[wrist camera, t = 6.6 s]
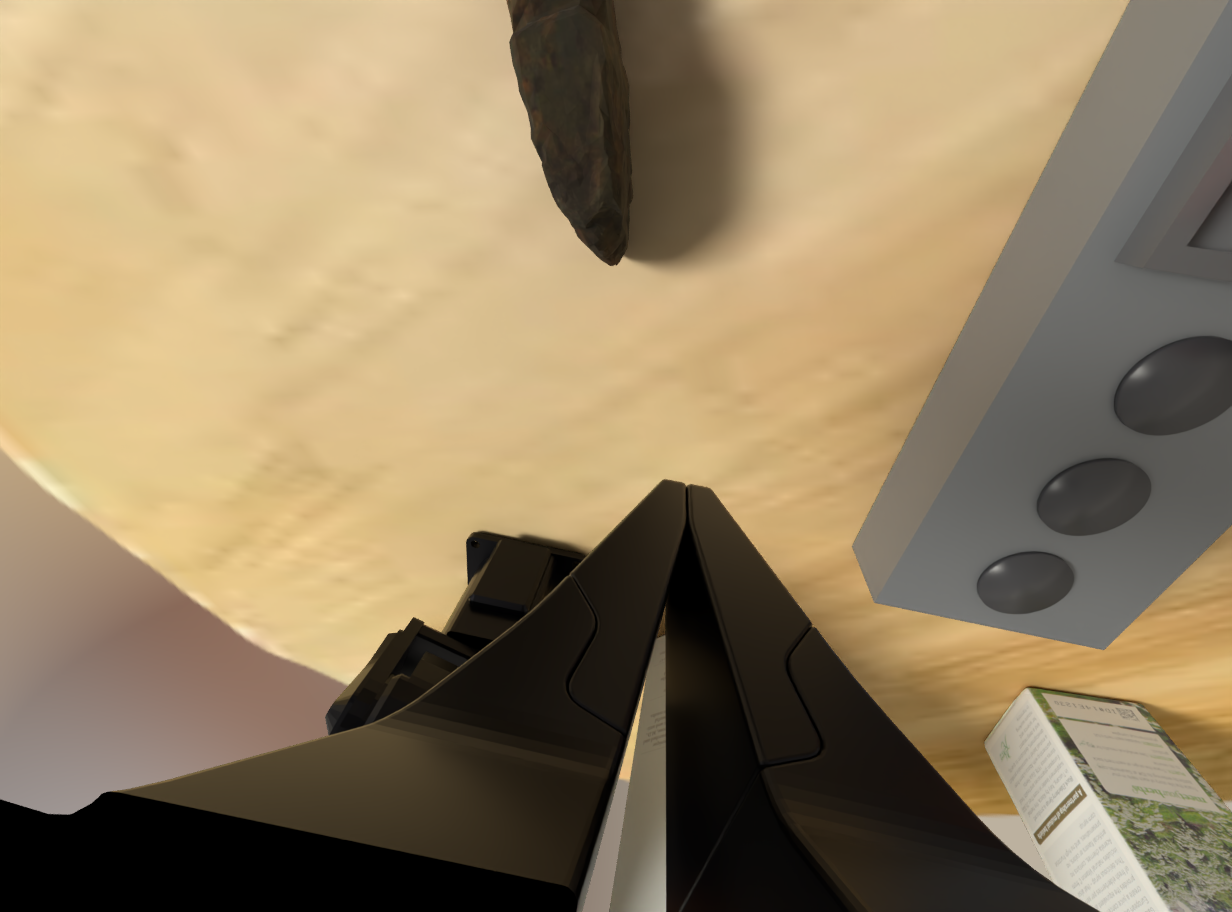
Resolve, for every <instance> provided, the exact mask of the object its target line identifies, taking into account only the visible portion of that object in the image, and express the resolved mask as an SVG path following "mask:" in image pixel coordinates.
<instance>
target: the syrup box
mask: <svg viewBox="0 0 1232 912" xmlns="http://www.w3.org/2000/svg"><path fill="white" fill-rule="evenodd" d="M984 744H985V749H986V751H987V753H988V754H989V757H990V758H991V760H992V762H993V764H994V766H995V768H996V770H997V772H998V774H999V776H1000V778H1001V780H1002V782H1003V783H1004V785H1005V787H1006V789H1007V791H1008V793H1009V795H1010V797H1011V799H1012V801H1013V803H1014V805H1015V807H1016V809H1017V811H1018V813H1019V815H1020V817H1021V819H1022V821H1023V823H1024V825H1025V827H1026V829H1027V831H1028V833H1029V835H1030V837H1031V839H1032V841H1033V843H1034V845H1035V847H1036V849H1037V851H1038V853H1039V855H1040V857H1041V859H1042V861H1043V863H1044V865H1045V867H1046V869H1047V871H1048V873H1049V875H1050V877H1051V879H1052V881H1053V883H1054V884H1056V885H1057V886H1059V887H1060V888H1062V889H1063V890H1065V891H1067V892H1068V893H1070V894H1071V895H1073V896H1075V897H1076V898H1078V899H1080V900H1082V901H1083V902H1085V903H1087V904H1088V905H1090V906H1092V907H1094V908H1095V909H1097V910H1099V911H1100V912H1232V812H1231V811H1230V809H1229V808H1228V807H1227V806H1226V805H1225V803H1224V802H1223V801H1222V800H1221V799H1220V797H1219V796H1218V795H1217V794H1216V792H1215V791H1214V790H1213V789H1212V788H1211V786H1210V785H1209V784H1208V783H1207V782H1206V781H1205V780H1204V778H1203V777H1202V776H1201V775H1200V773H1199V772H1198V771H1197V769H1196V768H1195V767H1194V766H1193V765H1192V764H1191V763H1190V761H1189V760H1188V759H1187V758H1186V756H1185V755H1184V754H1183V753H1182V752H1181V751H1180V749H1179V748H1178V747H1177V746H1176V745H1175V744H1174V743H1173V741H1172V740H1171V739H1170V738H1169V736H1168V735H1167V734H1166V733H1165V731H1164V730H1163V729H1162V728H1161V726H1160V725H1159V724H1158V723H1157V721H1156V720H1155V719H1154V718H1153V717H1152V716H1151V715H1150V713H1149V712H1148V711H1147V710H1146V709H1145V707H1144V706H1143V705H1141V704H1139V703H1132V702H1125V701H1118V700H1111V699H1105V698H1098V697H1091V696H1083V695H1078V694H1071V693H1063V692H1057V691H1050V690H1044V689H1036V688H1025V689H1024V690H1023V691H1022V692H1021V694H1020V695H1019V696H1018V697H1017V698H1016V699H1015V700H1014V701H1013V703H1012V704H1011V705H1010V707H1009V708H1008V709H1007V711H1006V712H1005V713H1004V714H1003V716H1002V718H1001V719H1000V720H999V722H998V723H997V724H996V726H995V727H994V729H993V730H992V732H991V733H990V734H989V736H988V737H987V739H986V740H985V741H984Z"/></svg>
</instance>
